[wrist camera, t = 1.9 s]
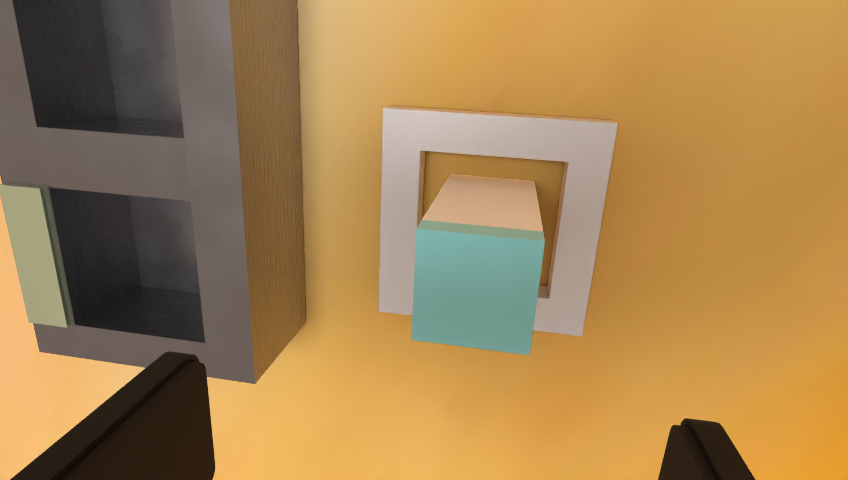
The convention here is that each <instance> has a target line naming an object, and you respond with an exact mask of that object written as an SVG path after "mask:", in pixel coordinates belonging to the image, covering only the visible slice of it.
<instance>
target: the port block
mask: <svg viewBox="0 0 848 480" xmlns="http://www.w3.org/2000/svg"><path fill="white" fill-rule="evenodd" d="M0 176H1V181H2V184H0V196H1V201H2V205H3V210H4V214H5V218H6V223H7V227H8V232H9V236H10V241H11V245H12V249H13V254H14V258H15V263H16V267H17V272H18V276H19V281H20V285H21V289H22V294H23V298H24V303H25V307H26V312H27V316H28V320H29V322H30V323H33V325H34V329H35V333H36V338H37V342H38V347H39V351H40V352H45V353H51V354H58V355H65V356H71V357H78V358H85V359H92V360H98V361H105V362H112V363H118V364H125V365H132V366H138V367H145V368H147V367H148V366H149V365H150V364H151V363H153V362H154V361H155V360H156V359H158V358H159V357H160V356H161V355H162V354H164V353H166V352H170V351H171V352H179V353H187V354H194V355H196V356H197V357H198V359H199V362H201V363H203V364H204V365H205V368H206V375H207V377H212V378H219V379H226V380H232V381H239V382H246V383H252V384H255V383H256V382H257V381H258V380H259V378H260V377H261V376H262V375H263V374H264V372H265V371H266V370H267V369H268V368H269V366H270V365H271V364H272V363H273V361H274V360H275V359H276V358H277V357H278V355H279V354H280V353H281V352H282V351H283V349H284V348H285V347H286V346H287V344H288V343H289V342H290V341H291V340H292V338H293V337H294V336H295V335H296V334H297V332H298V331H299V330H300V329H301V328H302V326H303V325H304V324H305V323H306V303H305V268H304V233H303V198H302V163H301V127H300V92H299V57H298V22H297V0H0Z"/></svg>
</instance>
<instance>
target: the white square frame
mask: <svg viewBox="0 0 848 480" xmlns="http://www.w3.org/2000/svg"><path fill="white" fill-rule="evenodd" d="M617 126H618V123H616V122H615V121H613V120H605V119H589V118H574V117H558V116H543V115H527V114H512V113H497V112H481V111H466V110H450V109H435V108H419V107H404V106H388V107H385V108H383V135H382V179H381V223H380V267H379V311H380V312H388V313H396V314H404V315H412V312H413V290H414V269H415V248H416V228H417V227H418V225H419V224H420V222H421V220H422V209H423V189H424V169H425V151H432V152H445V153H458V154H471V155H484V156H497V157H510V158H523V159H536V160H549V161H562V162H565V164H564V171H563V178H562V186H561V193H560V200H559V207H558V214H557V221H556V229H555V236H554V243H553V250H552V257H551V264H550V272H549V279H548V286H540V285H539V290H538V297H537V305H536V312H535V320H534V327H533V330H534V331H542V332H550V333H558V334H566V335H574V336H582V333H583V327H584V321H585V315H586V309H587V303H588V298H589V292H590V286H591V280H592V274H593V268H594V262H595V256H596V250H597V244H598V239H599V233H600V227H601V221H602V215H603V209H604V203H605V197H606V191H607V185H608V179H609V174H610V168H611V162H612V156H613V150H614V144H615V138H616V132H617Z"/></svg>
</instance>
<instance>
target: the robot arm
mask: <svg viewBox="0 0 848 480" xmlns="http://www.w3.org/2000/svg"><path fill="white" fill-rule="evenodd" d="M214 472H215V459H214V448H213V438H212V427H211V417H210V406H209V396H208V386H207V375H206V368H205V365H204V364H203V363H201V362H199V359H198V357H197V356H196V355H194V354H187V353H179V352H171V351H170V352H166V353H164V354H162V355H161V356H160V357H159V358H158V359H156V360H155V361H154V362H153V363H151V364H150V365H149V366H148V367H147V368H145V369H144V370H143V371H142V372H141V373H139V374H138V375H137V376H136V377H134V378H133V379H132V380H131V381H130V382H128V383H127V384H126V385H125V386H124V387H122V388H121V389H120V390H119V391H117V392H116V393H115V394H114V395H113V396H111V397H110V398H109V399H108V400H106V401H105V402H104V403H103V404H102V405H100V406H99V407H98V408H97V409H96V410H94V411H93V412H92V413H91V414H89V415H88V416H87V417H86V418H85V419H83V420H82V421H81V422H80V423H79V424H77V425H76V426H75V427H74V428H72V429H71V430H70V431H69V432H68V433H66V434H65V435H64V436H63V437H62V438H60V439H59V440H58V441H57V442H55V443H54V444H53V445H52V446H51V447H49V448H48V449H47V450H46V451H45V452H43V453H42V454H41V455H40V456H38V457H37V458H36V459H35V460H34V461H32V462H31V463H30V464H29V465H28V466H26V467H25V468H24V469H23V470H21V471H20V472H19V473H18V474H17V475H15V476H14V477H13V478H12V479H11V480H212V479H213V476H214ZM658 480H755V478H754V477H753V475H752V473H751V472H750V470H749V469H748V467H747V465H746V464H745V462H744V461H743V459H742V457H741V456H740V454H739V452H738V451H737V449H736V448H735V446H734V444H733V443H732V441H731V440H730V438H729V436H728V435H727V433H726V432H725V430H724V428H723V427H722V426H721V425H720V424H719V423H717V422H710V421H703V420H695V419H687V418H686V419H684V420H683V421H682V422H681V425H680V426H679V425H673V426H672V427H671V430H670V433H669V437H668V441H667V445H666V450H665V454H664V458H663V462H662V466H661V470H660V474H659V478H658Z"/></svg>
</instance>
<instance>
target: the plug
mask: <svg viewBox="0 0 848 480" xmlns="http://www.w3.org/2000/svg"><path fill="white" fill-rule="evenodd" d="M544 245H545V239H544V233H543V227H542V221H541V215H540V210H539V204H538V198H537V192H536V186H535V181H532V180H519V179H507V178H495V177H483V176H471V175H459V174H450V175H449V176H448V178H447V180H446V181H445V183H444V185H443V186H442V188H441V189H440V191H439V193H438V194H437V196H436V198H435V199H434V201H433V202H432V204H431V206H430V207H429V209H428V211H427V212H426V214H425V215H424V217H423V219H422V220H421V222H420V224H419V225H418V227H417V228H416V248H415V269H414V290H413V312H412V333H411V340H416V341H424V342H432V343H439V344H447V345H455V346H462V347H470V348H478V349H485V350H493V351H501V352H509V353H516V354H524V355H530V349H531V342H532V335H533V327H534V320H535V312H536V305H537V297H538V290H539V282H540V275H541V267H542V260H543V252H544Z"/></svg>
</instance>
